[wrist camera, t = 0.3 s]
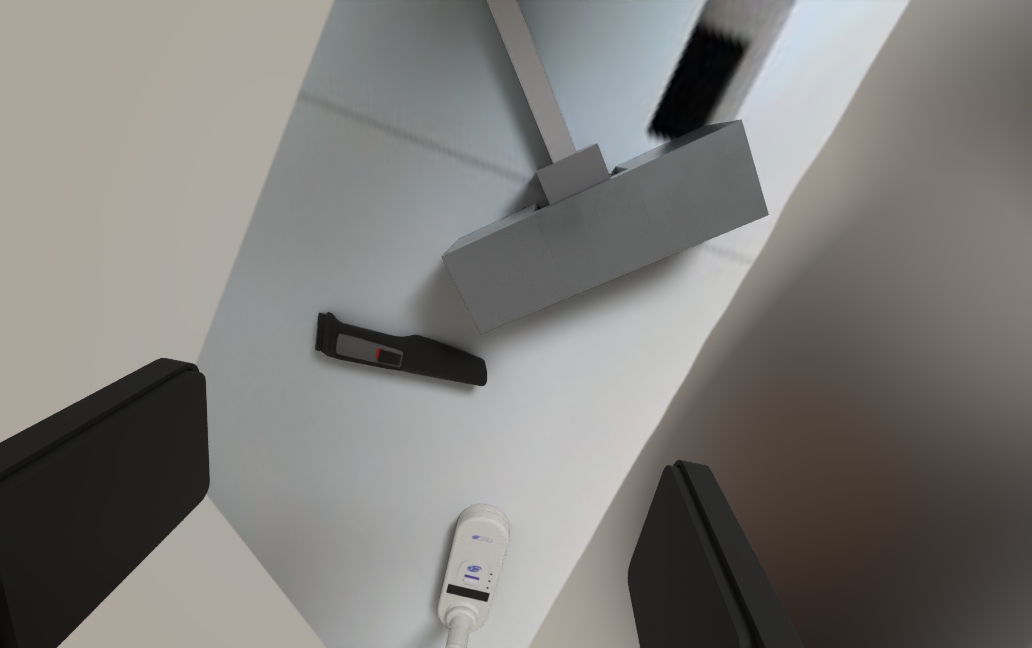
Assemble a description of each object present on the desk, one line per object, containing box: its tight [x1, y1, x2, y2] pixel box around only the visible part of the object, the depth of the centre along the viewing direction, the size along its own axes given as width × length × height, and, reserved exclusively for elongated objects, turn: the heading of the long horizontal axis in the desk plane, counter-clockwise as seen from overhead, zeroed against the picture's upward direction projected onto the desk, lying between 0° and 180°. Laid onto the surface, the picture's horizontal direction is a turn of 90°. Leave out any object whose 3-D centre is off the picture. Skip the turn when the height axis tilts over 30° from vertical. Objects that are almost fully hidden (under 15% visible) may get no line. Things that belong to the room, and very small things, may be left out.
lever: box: [486, 0, 610, 204], centre depth 32 cm, size 22×4×4 cm, turn 25°
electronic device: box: [438, 504, 510, 648], centre depth 45 cm, size 5×10×15 cm
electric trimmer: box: [315, 312, 487, 386], centre depth 41 cm, size 4×16×3 cm, turn 76°
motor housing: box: [441, 120, 769, 334], centre depth 34 cm, size 6×20×7 cm, turn 115°
